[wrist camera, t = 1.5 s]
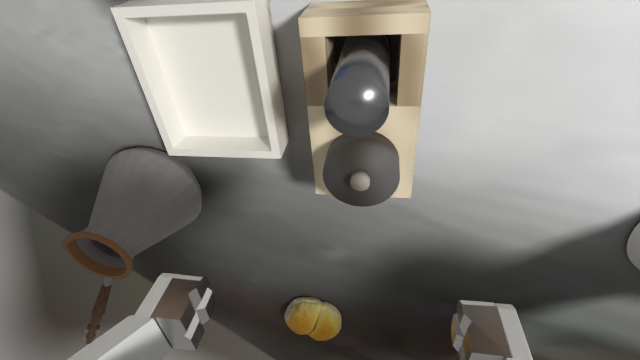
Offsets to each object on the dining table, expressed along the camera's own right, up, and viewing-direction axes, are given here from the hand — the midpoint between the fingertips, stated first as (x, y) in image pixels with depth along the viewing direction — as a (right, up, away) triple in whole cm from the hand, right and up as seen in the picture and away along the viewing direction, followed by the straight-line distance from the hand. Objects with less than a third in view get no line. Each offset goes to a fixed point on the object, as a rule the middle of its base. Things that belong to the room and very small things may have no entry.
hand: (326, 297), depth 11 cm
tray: (-10, +14, +22) cm, 28 cm away
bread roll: (-1, -17, +45) cm, 48 cm away
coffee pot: (-21, +1, +35) cm, 41 cm away
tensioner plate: (+4, +12, +21) cm, 24 cm away
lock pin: (+4, +15, +19) cm, 24 cm away
